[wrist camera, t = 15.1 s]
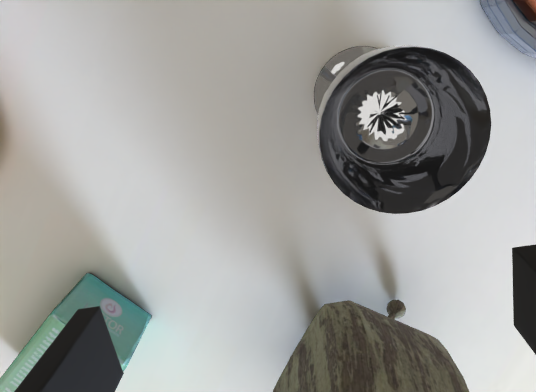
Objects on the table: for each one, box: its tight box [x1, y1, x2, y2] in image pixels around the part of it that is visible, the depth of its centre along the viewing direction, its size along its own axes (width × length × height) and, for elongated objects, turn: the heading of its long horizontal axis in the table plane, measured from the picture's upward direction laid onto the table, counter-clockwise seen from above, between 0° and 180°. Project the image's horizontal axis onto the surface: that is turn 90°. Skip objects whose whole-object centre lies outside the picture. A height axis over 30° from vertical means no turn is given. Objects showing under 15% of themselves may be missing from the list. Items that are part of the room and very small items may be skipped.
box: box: [0, 273, 152, 392], centre depth 41 cm, size 7×14×8 cm, turn 141°
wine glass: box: [314, 45, 491, 214], centre depth 29 cm, size 8×8×15 cm
